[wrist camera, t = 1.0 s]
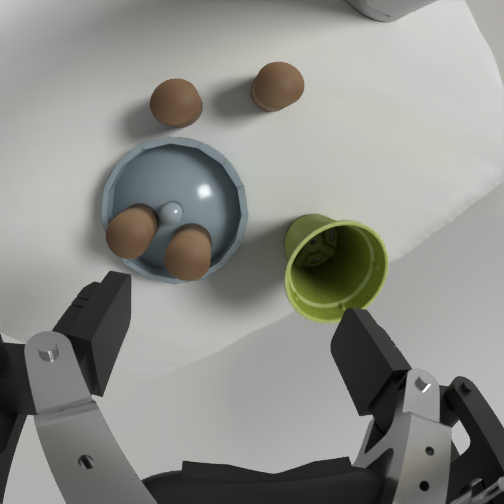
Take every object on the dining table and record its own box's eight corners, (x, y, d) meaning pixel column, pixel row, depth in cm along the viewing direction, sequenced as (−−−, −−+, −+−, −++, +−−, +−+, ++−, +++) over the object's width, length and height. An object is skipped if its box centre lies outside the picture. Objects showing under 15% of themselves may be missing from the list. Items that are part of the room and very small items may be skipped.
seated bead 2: (175, 219, 27) (167, 234, 22) (215, 227, 27) (214, 243, 23) (170, 256, 28) (161, 276, 24) (207, 263, 29) (205, 285, 24)
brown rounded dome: (167, 86, 22) (157, 76, 18) (206, 92, 23) (203, 82, 19) (157, 124, 24) (145, 121, 20) (196, 130, 24) (191, 128, 20)
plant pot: (281, 290, 32) (300, 338, 24) (256, 215, 28) (270, 245, 20) (355, 263, 32) (391, 300, 24) (339, 187, 28) (381, 206, 20)
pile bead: (256, 69, 23) (263, 56, 19) (295, 80, 23) (308, 70, 19) (246, 105, 24) (250, 98, 20) (286, 116, 25) (297, 111, 21)
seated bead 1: (124, 200, 25) (107, 211, 21) (161, 207, 26) (151, 219, 22) (120, 237, 27) (104, 254, 22) (156, 244, 27) (145, 263, 23)
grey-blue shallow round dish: (122, 128, 23) (112, 127, 21) (261, 154, 26) (265, 155, 24) (106, 258, 28) (97, 268, 26) (228, 283, 31) (229, 295, 28)
